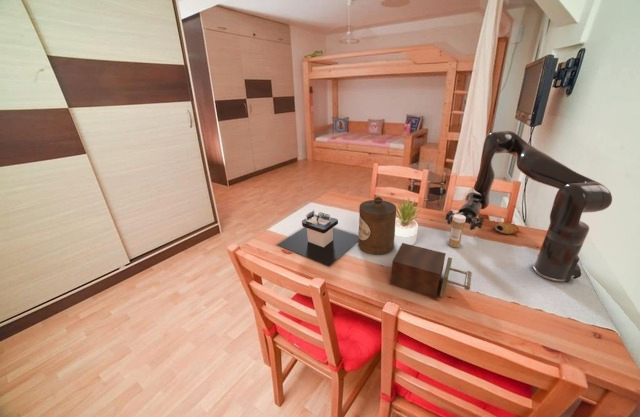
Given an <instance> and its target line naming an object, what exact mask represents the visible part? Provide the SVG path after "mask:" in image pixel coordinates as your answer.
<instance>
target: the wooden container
mask: <svg viewBox="0 0 640 417" xmlns="http://www.w3.org/2000/svg"><path fill="white" fill-rule="evenodd" d="M358 212H359V215H358V216H359V217H358V236H359V240H358V247H359V248H360V249H361V250H362V251H363V252H365V253H368V254H371V255H385V254H388V253H390V252H392V250H393V249H394V247H395V246H394V245H395V235H396V220H397V219H396V216H397V206H396V204H394V203H393V202H390V201H387V200H383V198H382V197H381V196H376V197H374V198H373V199H369V200H364V201H363V202H361V203H360V204H359V210H358Z"/></svg>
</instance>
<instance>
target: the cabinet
mask: <svg viewBox="0 0 640 417" xmlns="http://www.w3.org/2000/svg"><path fill="white" fill-rule="evenodd" d="M446 254H447V253H446V252H443V251H438V250H434V249H430V248H425V247H421V246H417V245H413V244H408V243H405V242H402V243H401V244H400V246H399V248H398V250H397V251H396V253H395V256H394V257H393V259H392V262H391V272H390V283H389V284H390V285H392V286H396V287H399V288H402V289H404V290H408V291H410V292H414V293H417V294H421V295H423V296H426V297H430V298H433V299H437V295H438V291H439V287H440V283H441V279H442V275H443V270H444V265H445V258H446ZM440 274H441V275H440Z"/></svg>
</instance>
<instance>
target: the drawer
mask: <svg viewBox="0 0 640 417" xmlns="http://www.w3.org/2000/svg"><path fill="white" fill-rule="evenodd" d="M452 262H453V258H452V257H449V256H448V258H447V261H446V266H445V269H444V274H443V278H442V284H441V288H440V294H439V297H441V298H445V294H446V290H447V285H448V284H451V285H454V286H458V287H461V288H464V290H466V291H470V290H471V283H472V271H471V270H466V271H465V270H461V269H457V268H453V267H451V266H452ZM450 271H451V272H456V273H459V274H463V275H465V276H464V284H463V283H460V282H456V281H453V280H449V277H450ZM440 275H441V274H440ZM441 276H442V275H441Z"/></svg>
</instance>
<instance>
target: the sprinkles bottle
mask: <svg viewBox="0 0 640 417" xmlns="http://www.w3.org/2000/svg"><path fill="white" fill-rule="evenodd" d="M465 221H466V217H465V216H464V215H460V214H456V215H454V216H453V221H452V222H451V228H450V234H449V239H448V242H447V244H448V245H449V246H450V247H452V248H460V247H461V241H462V238H463V232H464V228H465Z"/></svg>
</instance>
